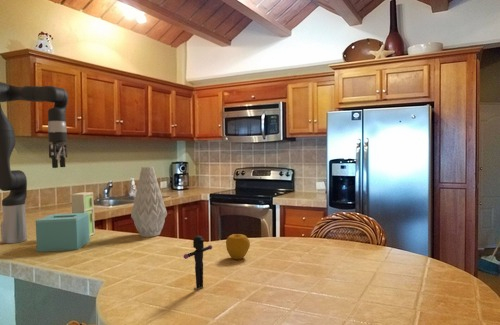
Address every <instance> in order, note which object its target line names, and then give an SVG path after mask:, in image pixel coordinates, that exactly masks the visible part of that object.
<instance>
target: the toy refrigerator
mask: <svg viewBox="0 0 500 325" xmlns="http://www.w3.org/2000/svg"><path fill="white" fill-rule="evenodd" d="M94 202H95V201H94V192H92V191H91V192H89V191H87V192H83V191H82V192H77V193H72V194H71V214H72V213H89V235H90V237H91V236H94V235H95V233H96V231H95V228H96V227H95V208H94V207H95V205H94V204H95V203H94Z"/></svg>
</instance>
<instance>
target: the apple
mask: <svg viewBox="0 0 500 325" xmlns="http://www.w3.org/2000/svg"><path fill="white" fill-rule="evenodd" d="M250 242H251V241H250V239H249V238H248V237H247V235H245V234H242V233H233V234H231V235H229V236H228V237H226V241H225V248H226V250H227V253H228V254H229V255H228V256H230V258H231V259H234V260H242V259H244V257H245V256H246V255H247V254H248V251H249V249H250V246H251V243H250Z"/></svg>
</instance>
